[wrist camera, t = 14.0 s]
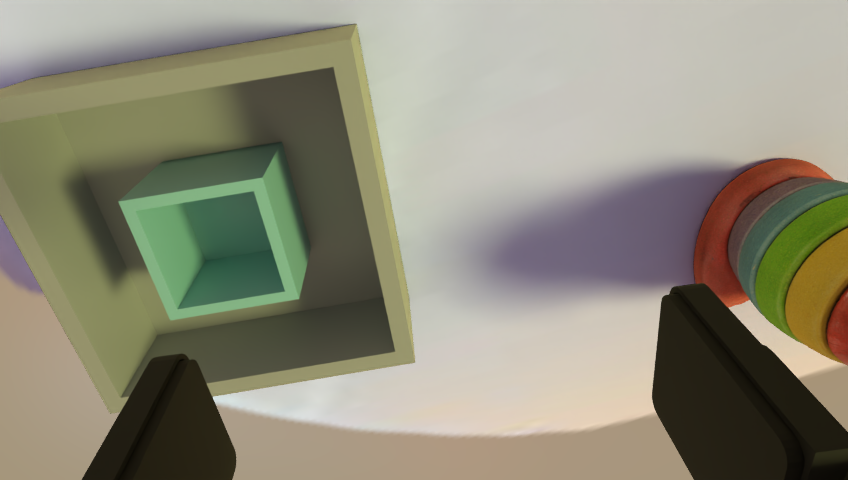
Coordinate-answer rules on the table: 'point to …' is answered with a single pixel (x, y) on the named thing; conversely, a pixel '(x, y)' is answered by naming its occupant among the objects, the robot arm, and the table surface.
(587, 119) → the table surface
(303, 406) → the table surface
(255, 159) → the box
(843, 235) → the stacking bear
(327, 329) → the big crate
